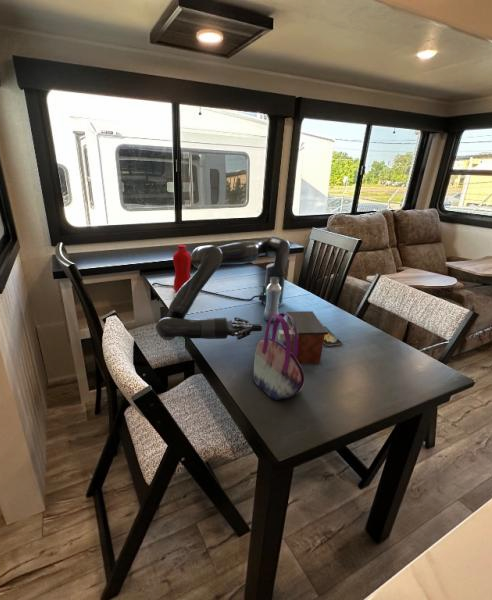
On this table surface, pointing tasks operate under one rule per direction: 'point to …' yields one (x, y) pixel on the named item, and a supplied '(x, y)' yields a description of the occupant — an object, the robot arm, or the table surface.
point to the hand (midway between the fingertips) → (261, 327)
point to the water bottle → (181, 267)
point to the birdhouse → (307, 336)
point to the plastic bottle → (272, 298)
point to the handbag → (278, 363)
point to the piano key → (282, 336)
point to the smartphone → (331, 339)
